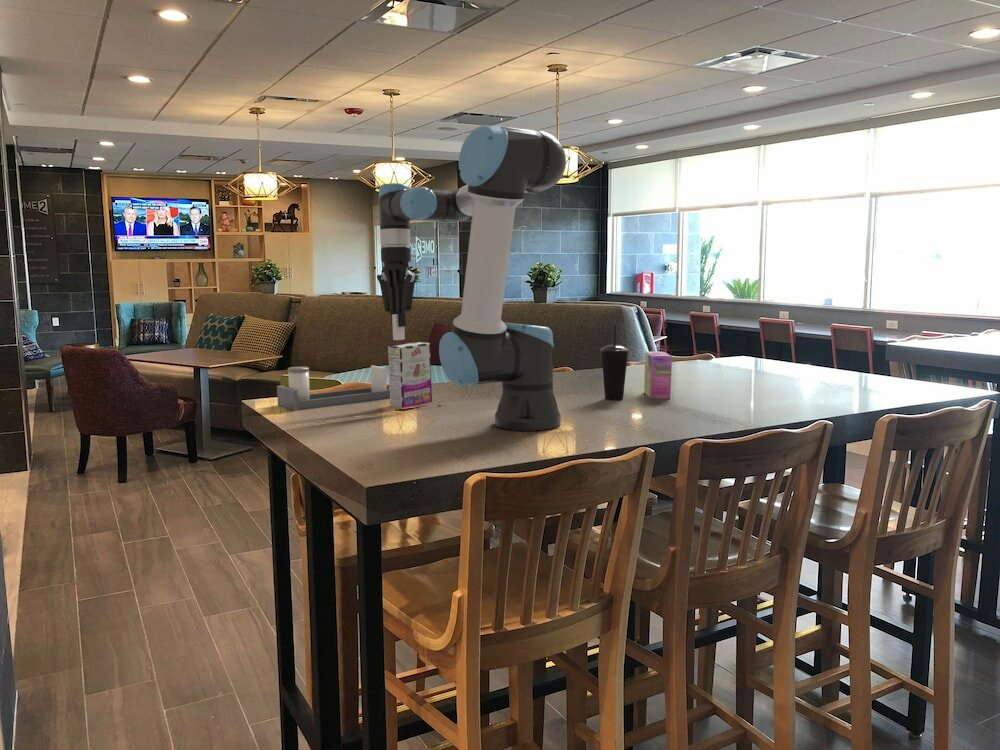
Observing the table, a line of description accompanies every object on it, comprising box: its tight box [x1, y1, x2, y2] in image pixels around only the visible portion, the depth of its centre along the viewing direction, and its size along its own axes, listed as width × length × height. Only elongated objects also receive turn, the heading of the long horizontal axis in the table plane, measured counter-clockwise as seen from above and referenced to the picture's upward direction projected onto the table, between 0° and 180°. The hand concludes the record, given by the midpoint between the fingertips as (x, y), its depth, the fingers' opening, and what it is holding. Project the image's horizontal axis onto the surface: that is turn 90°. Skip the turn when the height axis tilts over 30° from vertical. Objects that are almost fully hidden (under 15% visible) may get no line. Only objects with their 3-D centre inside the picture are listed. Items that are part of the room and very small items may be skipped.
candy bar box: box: [387, 341, 433, 412], centre depth 203 cm, size 11×5×16 cm, turn 143°
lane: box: [276, 384, 390, 412], centre depth 209 cm, size 10×32×6 cm, turn 128°
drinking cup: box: [600, 324, 630, 401], centre depth 214 cm, size 8×8×20 cm
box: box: [643, 351, 673, 400], centre depth 219 cm, size 10×6×12 cm, turn 179°
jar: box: [287, 366, 311, 401], centre depth 201 cm, size 5×5×10 cm
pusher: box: [370, 365, 388, 392], centre depth 216 cm, size 7×4×8 cm, turn 38°
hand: (398, 339), depth 203 cm, fingers closed
